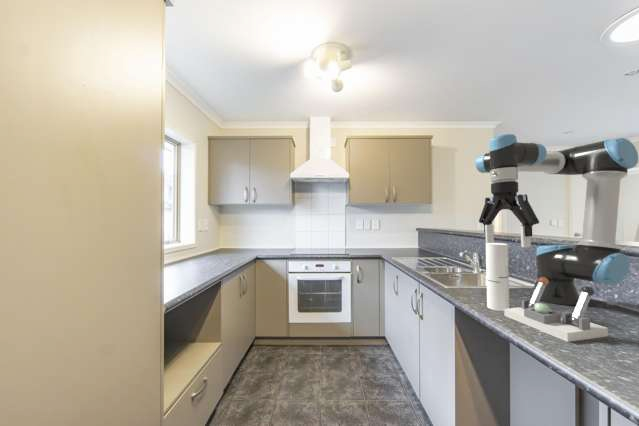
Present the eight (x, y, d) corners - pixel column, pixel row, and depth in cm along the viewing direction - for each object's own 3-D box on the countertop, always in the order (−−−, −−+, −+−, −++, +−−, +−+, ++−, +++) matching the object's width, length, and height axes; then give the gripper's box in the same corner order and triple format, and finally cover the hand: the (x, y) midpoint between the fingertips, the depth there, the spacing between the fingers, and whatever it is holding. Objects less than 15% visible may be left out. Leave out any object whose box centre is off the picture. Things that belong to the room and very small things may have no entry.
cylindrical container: (513, 311, 97) (511, 244, 97) (492, 310, 98) (490, 244, 98) (503, 305, 104) (502, 242, 104) (484, 304, 105) (482, 242, 105)
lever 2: (571, 324, 79) (586, 287, 81) (583, 328, 77) (598, 290, 78) (565, 320, 79) (580, 283, 80) (576, 324, 76) (592, 286, 78)
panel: (538, 312, 96) (538, 296, 96) (607, 336, 76) (607, 316, 76) (504, 315, 93) (504, 299, 93) (567, 341, 73) (567, 321, 74)
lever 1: (529, 309, 92) (543, 278, 94) (538, 312, 89) (552, 280, 91) (524, 306, 92) (537, 274, 93) (532, 309, 89) (546, 276, 90)
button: (540, 311, 86) (540, 302, 86) (552, 315, 82) (552, 306, 82) (531, 312, 85) (531, 303, 85) (543, 316, 81) (543, 307, 81)
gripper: (466, 186, 99) (469, 241, 99) (531, 176, 75) (534, 249, 74) (483, 186, 100) (486, 240, 100) (552, 176, 76) (555, 248, 76)
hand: (506, 244), depth 87 cm, fingers open, 13 cm apart
